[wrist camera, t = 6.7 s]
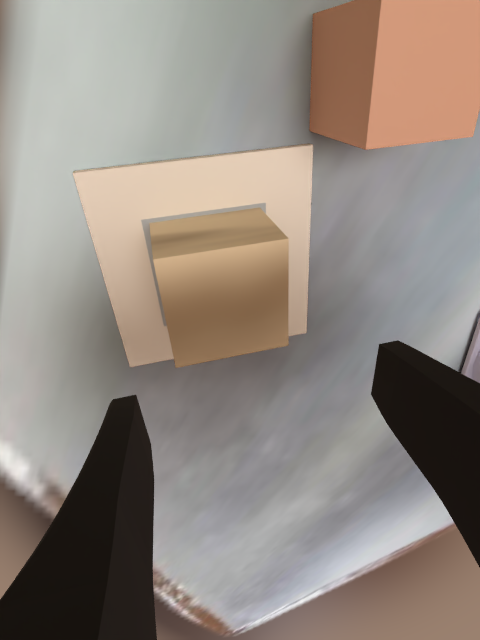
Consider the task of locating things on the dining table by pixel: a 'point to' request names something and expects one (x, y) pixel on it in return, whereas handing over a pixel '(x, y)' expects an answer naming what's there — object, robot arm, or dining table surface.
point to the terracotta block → (396, 71)
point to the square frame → (182, 202)
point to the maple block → (222, 284)
